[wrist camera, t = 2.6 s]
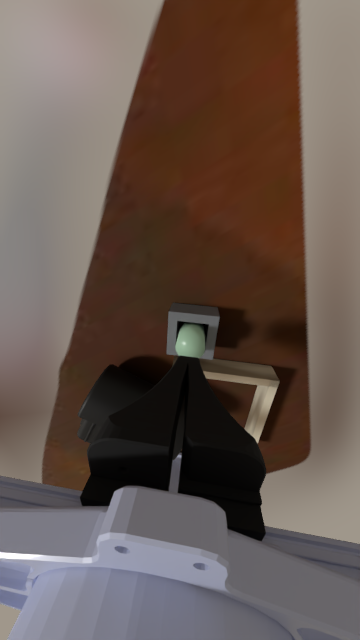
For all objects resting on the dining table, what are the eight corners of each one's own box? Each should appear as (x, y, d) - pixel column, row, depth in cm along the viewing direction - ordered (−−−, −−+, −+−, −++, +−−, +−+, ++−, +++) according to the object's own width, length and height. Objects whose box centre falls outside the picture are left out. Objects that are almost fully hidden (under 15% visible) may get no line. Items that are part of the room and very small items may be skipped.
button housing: (211, 346, 20) (212, 359, 18) (170, 341, 20) (166, 354, 18) (217, 307, 18) (219, 316, 16) (173, 302, 19) (168, 311, 16)
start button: (203, 343, 19) (203, 362, 16) (178, 340, 19) (174, 358, 16) (206, 320, 18) (206, 336, 15) (180, 318, 18) (176, 333, 15)
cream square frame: (248, 438, 25) (252, 457, 22) (169, 426, 25) (166, 443, 23) (271, 365, 20) (279, 381, 18) (175, 353, 21) (171, 367, 19)
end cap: (194, 388, 23) (191, 443, 16) (168, 422, 25) (157, 480, 19) (119, 350, 22) (85, 393, 16) (100, 389, 24) (65, 440, 18)
